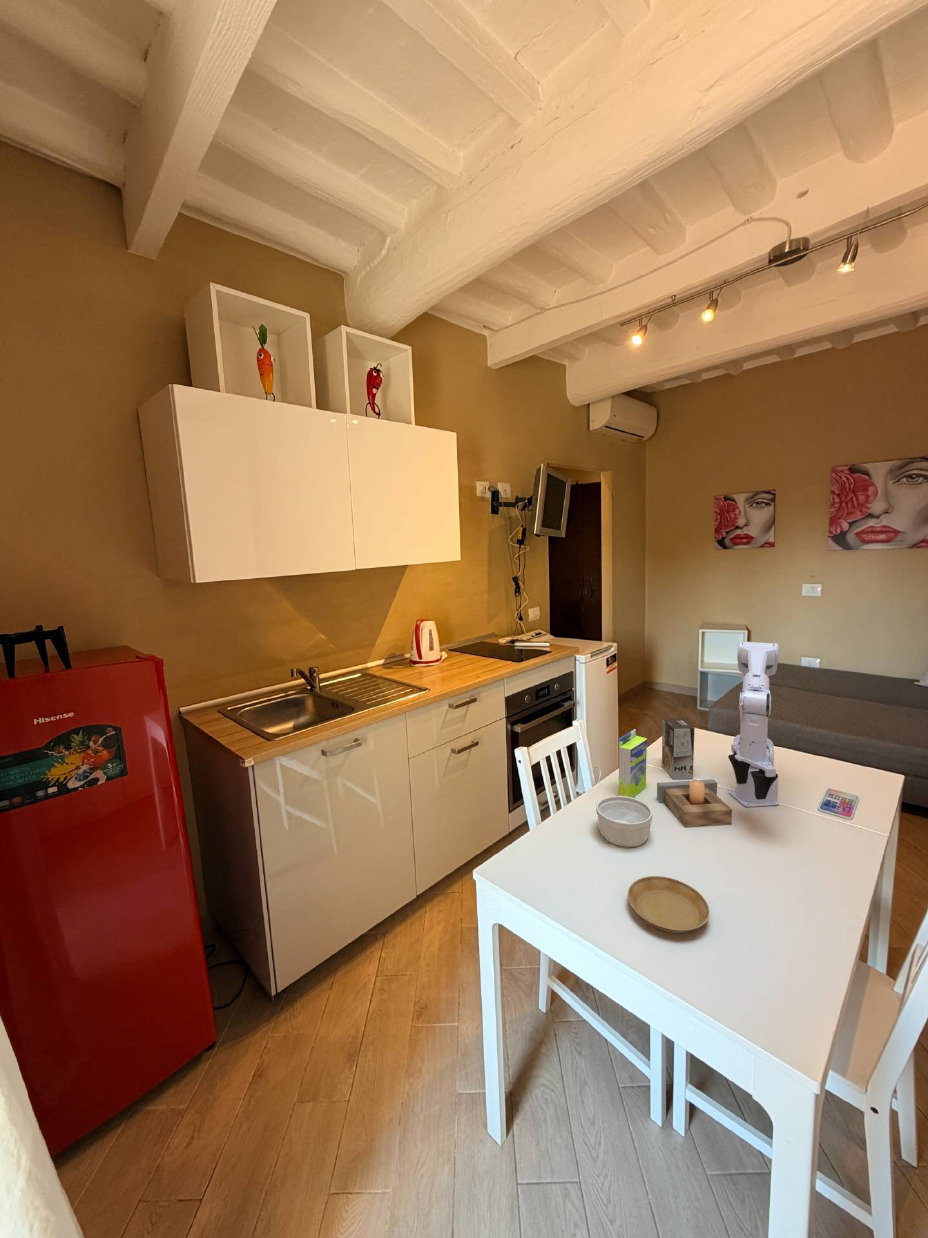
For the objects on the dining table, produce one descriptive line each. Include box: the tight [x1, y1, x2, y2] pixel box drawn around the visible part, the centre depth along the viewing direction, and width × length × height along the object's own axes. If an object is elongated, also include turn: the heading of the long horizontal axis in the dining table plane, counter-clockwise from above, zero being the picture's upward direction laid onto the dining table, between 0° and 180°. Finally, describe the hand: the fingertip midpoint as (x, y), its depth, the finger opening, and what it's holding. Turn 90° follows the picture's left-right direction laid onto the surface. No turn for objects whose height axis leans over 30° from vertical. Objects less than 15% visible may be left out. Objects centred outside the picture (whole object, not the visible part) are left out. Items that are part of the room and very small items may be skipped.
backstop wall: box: [656, 778, 718, 804], centre depth 136 cm, size 16×2×5 cm, turn 92°
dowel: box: [689, 779, 704, 805], centre depth 129 cm, size 4×4×8 cm
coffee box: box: [661, 717, 696, 780], centre depth 152 cm, size 9×6×16 cm
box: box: [618, 728, 648, 798], centre depth 141 cm, size 10×4×17 cm, turn 135°
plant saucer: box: [627, 875, 710, 934], centre depth 96 cm, size 15×15×3 cm
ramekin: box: [595, 795, 653, 848], centre depth 122 cm, size 13×13×7 cm
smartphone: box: [817, 788, 860, 821], centre depth 131 cm, size 7×1×15 cm
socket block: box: [663, 787, 733, 828], centre depth 130 cm, size 12×12×4 cm
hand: (750, 790), depth 122 cm, fingers open, 7 cm apart
